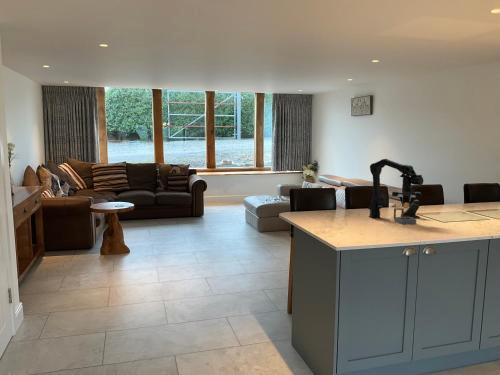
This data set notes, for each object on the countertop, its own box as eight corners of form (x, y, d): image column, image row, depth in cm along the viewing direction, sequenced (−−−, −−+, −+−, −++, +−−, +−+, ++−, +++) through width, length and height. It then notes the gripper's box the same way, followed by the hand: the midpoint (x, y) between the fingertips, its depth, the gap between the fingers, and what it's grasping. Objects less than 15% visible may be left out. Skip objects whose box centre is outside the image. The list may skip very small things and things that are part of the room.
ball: (404, 208, 281) (405, 203, 280) (401, 207, 285) (402, 202, 284) (410, 208, 281) (410, 202, 281) (407, 207, 285) (407, 202, 285)
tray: (402, 224, 278) (402, 219, 278) (394, 221, 288) (394, 217, 288) (416, 223, 280) (416, 219, 279) (408, 221, 290) (408, 216, 289)
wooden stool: (403, 220, 293) (403, 208, 292) (393, 219, 295) (394, 208, 294) (403, 218, 299) (403, 207, 298) (393, 218, 301) (394, 207, 300)
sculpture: (418, 218, 299) (419, 200, 298) (400, 216, 307) (401, 199, 306) (420, 217, 304) (421, 199, 302) (402, 215, 312) (403, 198, 310)
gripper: (392, 184, 277) (391, 207, 278) (422, 185, 271) (421, 209, 273) (392, 183, 287) (391, 205, 289) (421, 184, 281) (420, 206, 283)
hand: (406, 206), depth 283 cm, fingers closed on ball, 4 cm apart
